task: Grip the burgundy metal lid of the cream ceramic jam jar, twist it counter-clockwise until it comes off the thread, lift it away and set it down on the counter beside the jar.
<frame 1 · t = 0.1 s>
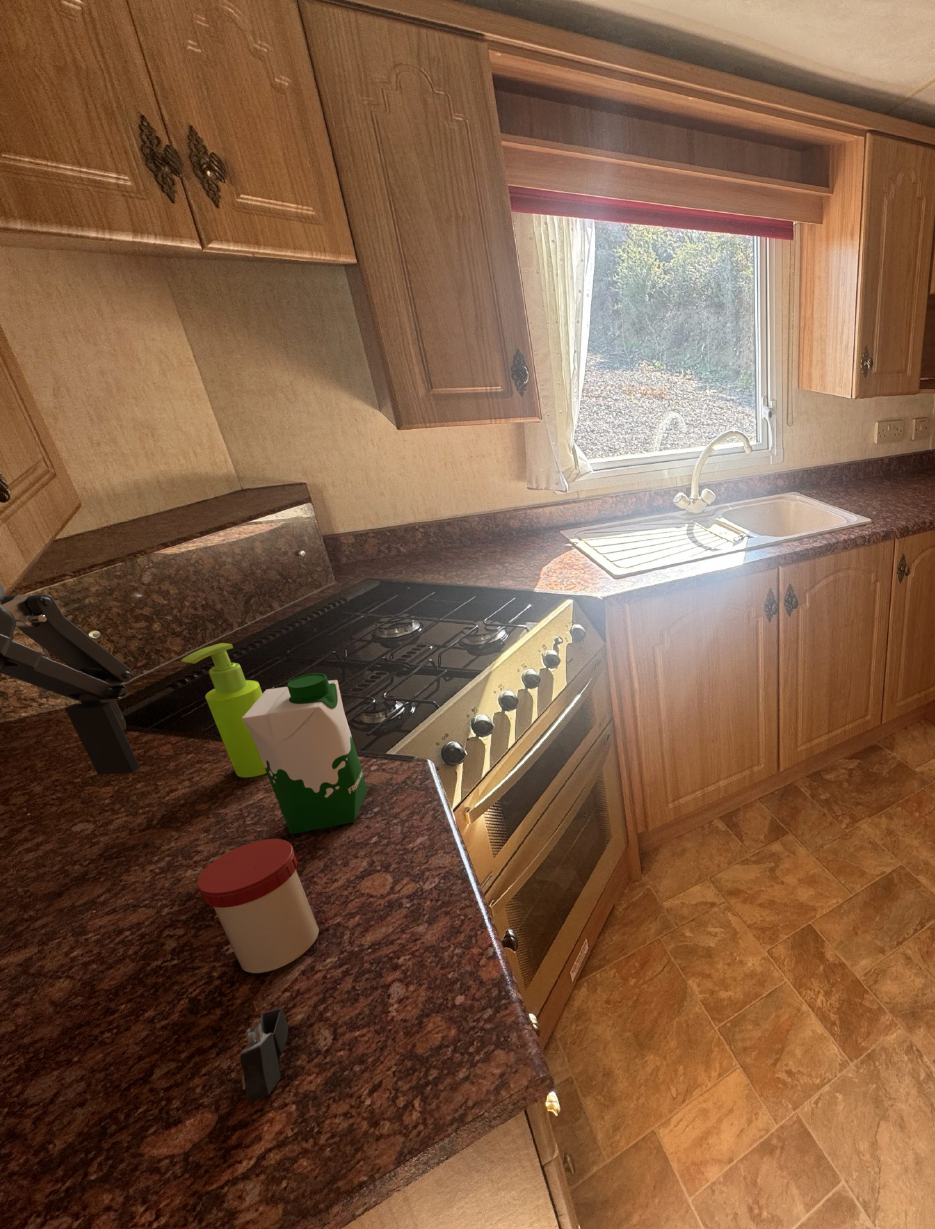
hand: (39, 825, 49), 25 cm above the countertop, tool pointing down, fingers open, 13 cm apart
milk carton: (330, 813, 88), on the countertop
jam lid: (247, 867, 64), point 11 cm above the countertop, screwed on, not yet turned
soap dispenser: (258, 768, 97), on the countertop
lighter: (269, 1071, 56), on the countertop
jam jar: (280, 945, 68), on the countertop
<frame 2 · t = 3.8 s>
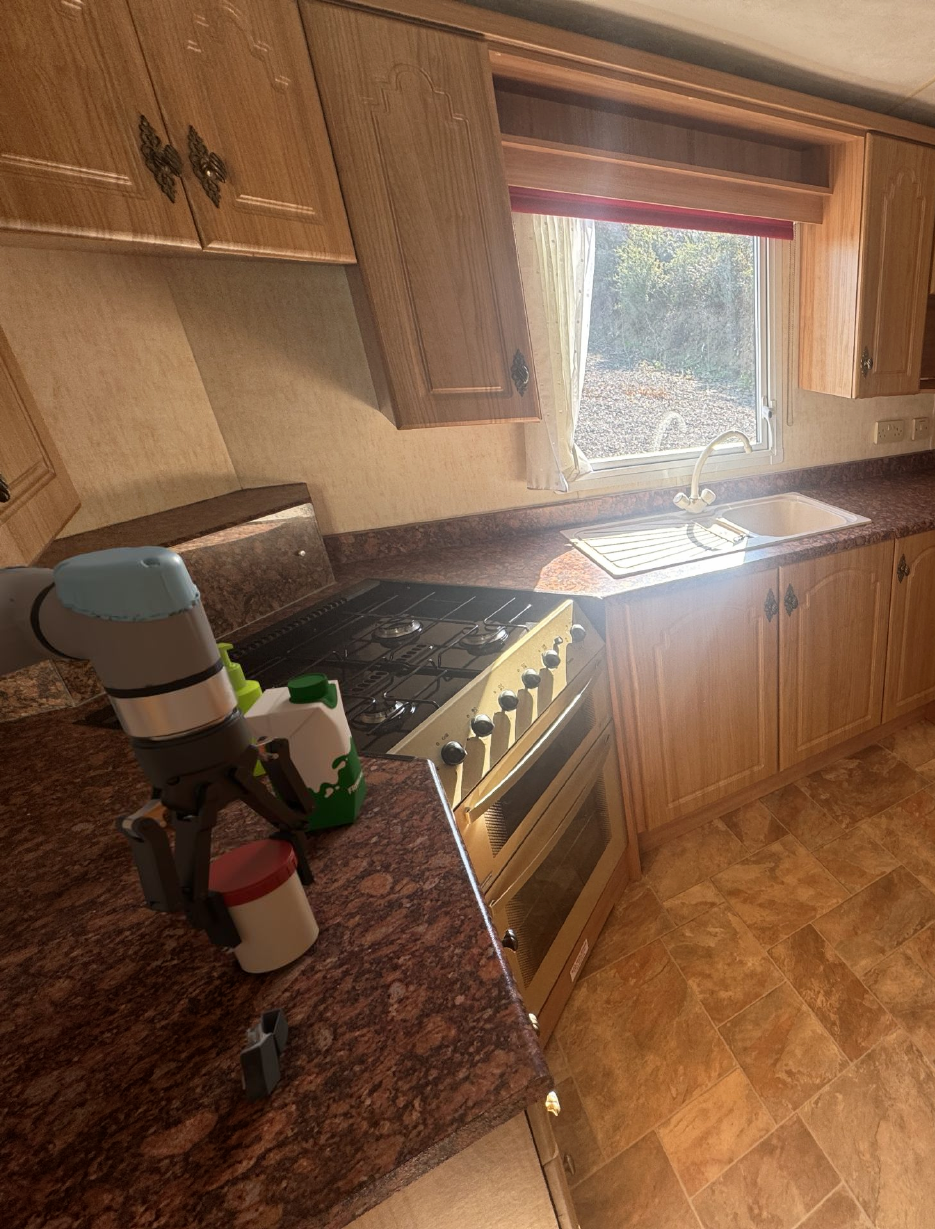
hand: (265, 910, 66), 5 cm above the countertop, tool pointing down, fingers closed on jam lid, 7 cm apart
jam lid: (247, 867, 64), point 11 cm above the countertop, screwed on, not yet turned, touching gripper
everything else where it was.
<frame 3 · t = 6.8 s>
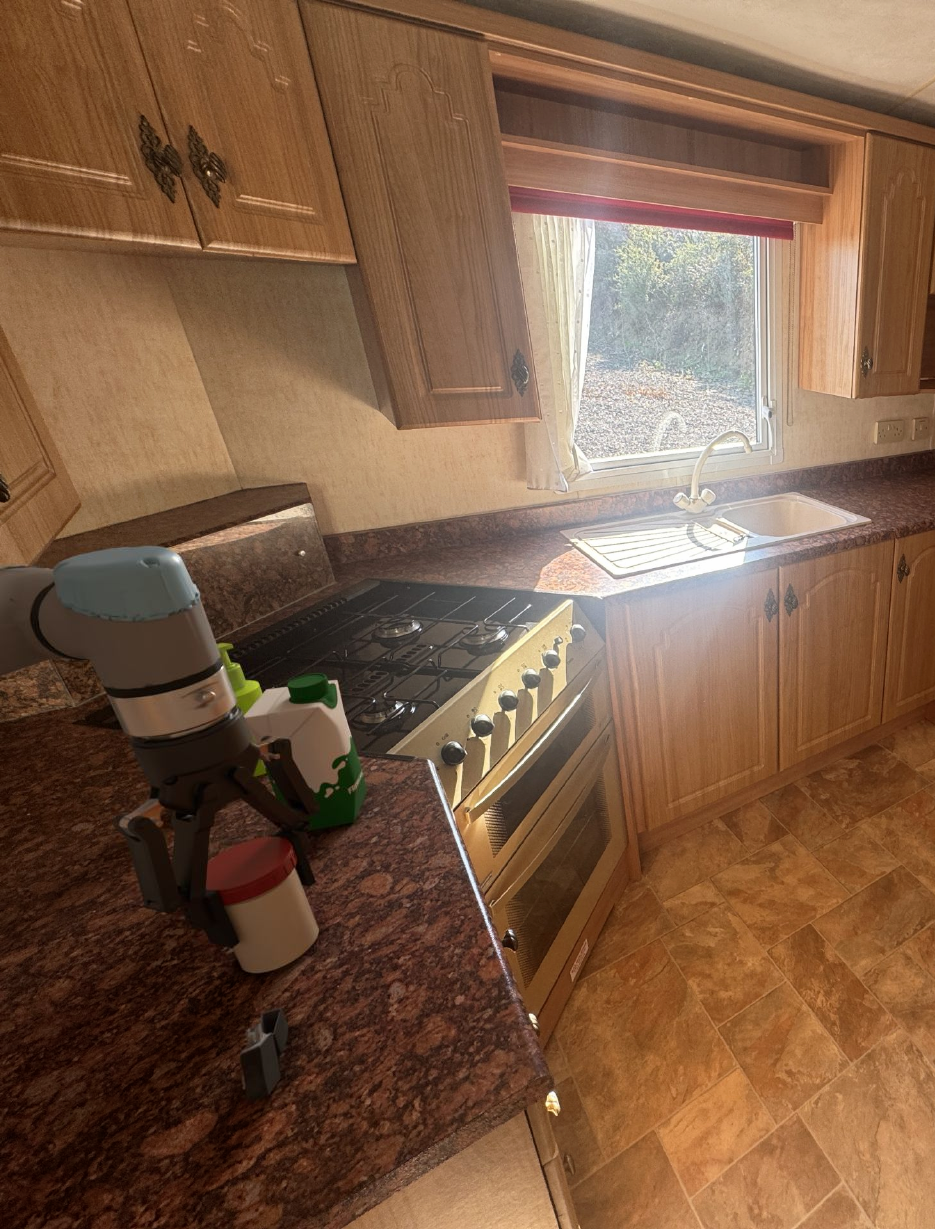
hand: (265, 910, 66), 5 cm above the countertop, tool pointing down, fingers closed on jam lid, 7 cm apart
jam lid: (246, 864, 64), point 11 cm above the countertop, off its thread, touching gripper
everything else where it was.
when the fingers open (0 cm above the countertop, at t = 14.9 s): jam lid drops 5 cm, point 1 cm above the countertop.
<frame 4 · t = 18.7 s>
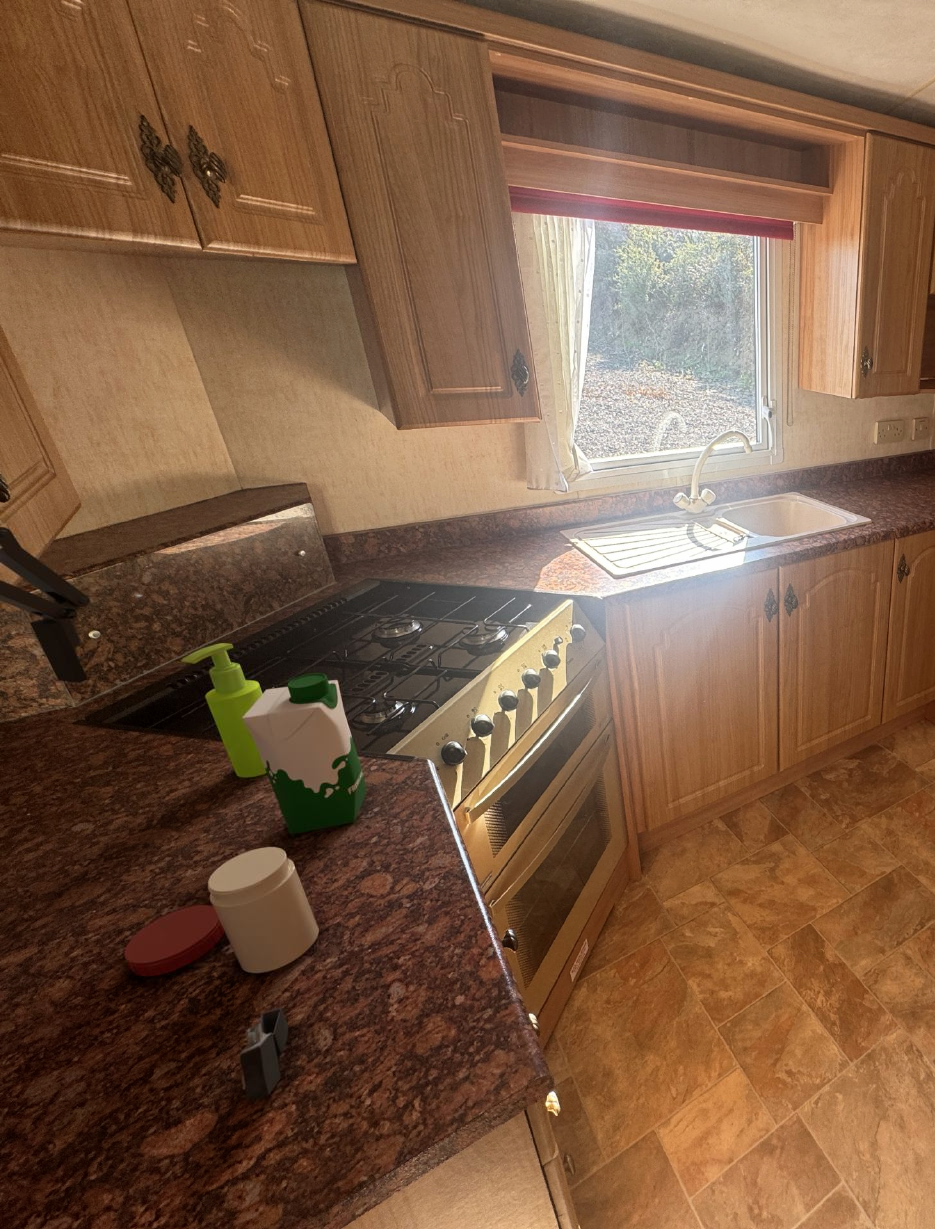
jam lid: (174, 935, 67), point 1 cm above the countertop, off its thread
everything else where it was.
at the end: jam lid came off its thread; jam lid point 1.5 cm above the countertop; the gripper is holding nothing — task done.
